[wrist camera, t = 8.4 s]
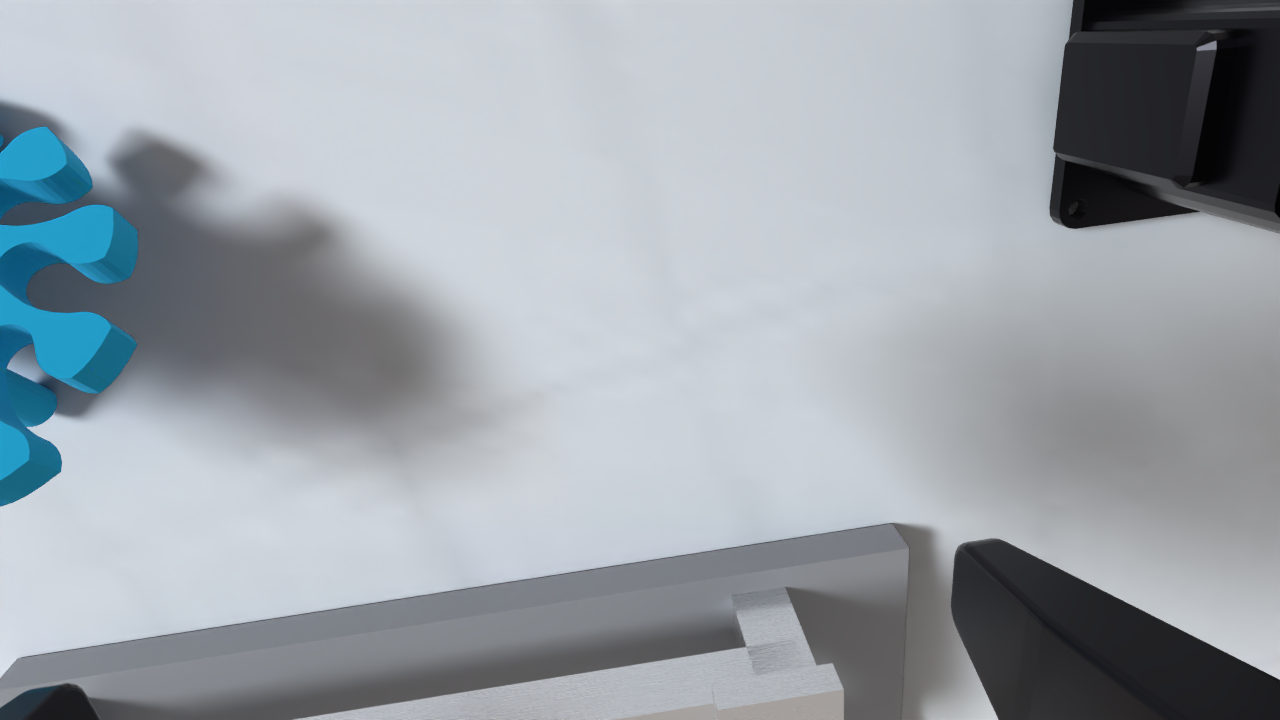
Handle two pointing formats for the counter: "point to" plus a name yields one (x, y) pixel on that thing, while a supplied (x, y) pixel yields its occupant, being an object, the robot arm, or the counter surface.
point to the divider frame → (665, 683)
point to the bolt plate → (510, 637)
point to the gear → (64, 342)
